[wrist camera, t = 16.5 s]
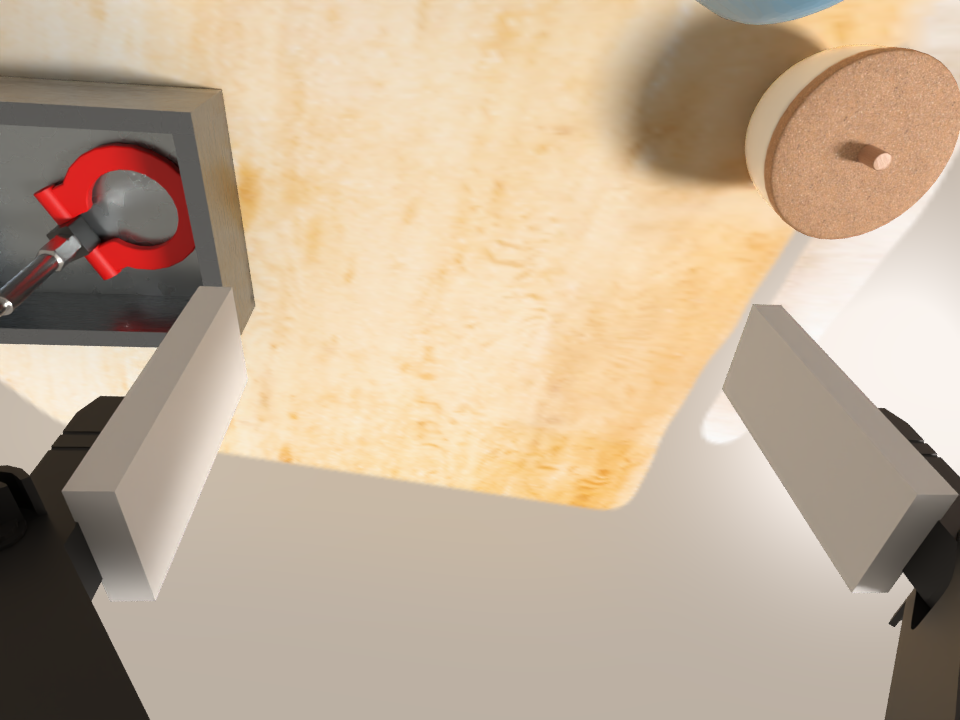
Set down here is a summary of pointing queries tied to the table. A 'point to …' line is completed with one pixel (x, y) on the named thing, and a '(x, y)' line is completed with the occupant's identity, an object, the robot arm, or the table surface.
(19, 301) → the tow hook
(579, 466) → the table surface
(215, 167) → the grey open box
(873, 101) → the lidded jar
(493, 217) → the table surface
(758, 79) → the table surface
